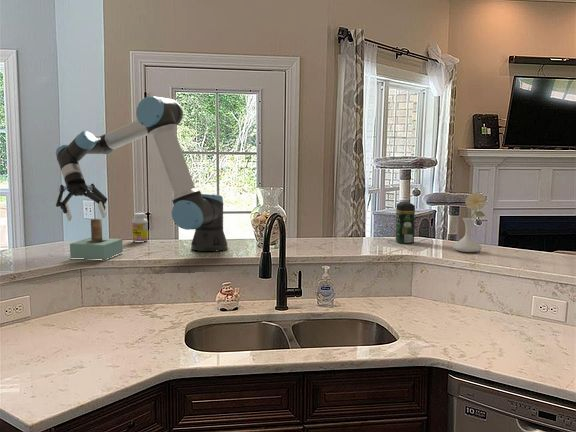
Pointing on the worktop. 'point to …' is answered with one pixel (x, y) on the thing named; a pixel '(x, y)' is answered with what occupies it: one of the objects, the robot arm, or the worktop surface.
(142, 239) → the supplement bottle
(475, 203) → the flower in vase
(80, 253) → the socket block
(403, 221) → the coffee jar
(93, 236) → the dowel
